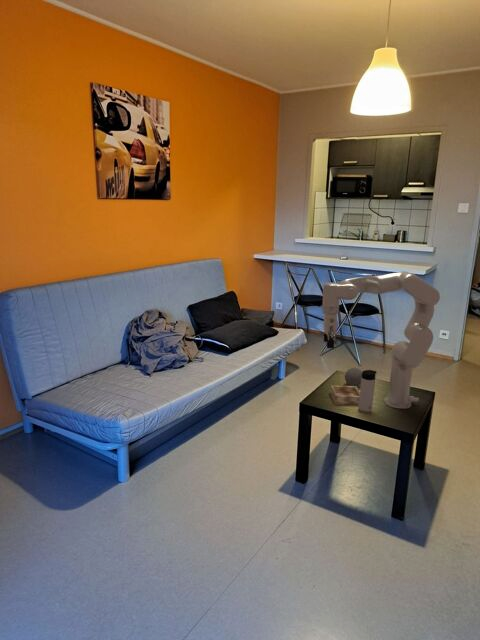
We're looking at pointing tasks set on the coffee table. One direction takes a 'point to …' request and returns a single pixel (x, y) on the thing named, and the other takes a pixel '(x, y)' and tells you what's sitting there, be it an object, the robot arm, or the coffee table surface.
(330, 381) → the coffee table surface
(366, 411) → the travel mug
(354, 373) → the decorative ball
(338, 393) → the open box
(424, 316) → the robot arm
